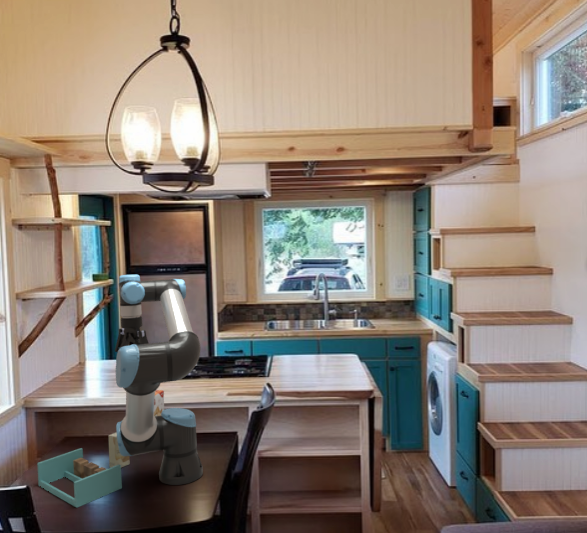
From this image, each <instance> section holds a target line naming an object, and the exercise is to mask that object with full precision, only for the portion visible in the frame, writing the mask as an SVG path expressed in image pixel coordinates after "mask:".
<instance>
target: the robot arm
mask: <svg viewBox="0 0 587 533" xmlns="http://www.w3.org/2000/svg"><path fill="white" fill-rule="evenodd" d="M118 288H119V289H118V291H119V292H118V295H119V303H120V304H119V310H120V312H119V313H120V314H119V315H120V317H121V318H120V327H121V328H118V336H117V341H116V344H115V348H114V352H116V359H115V363H116V364H115V381H116V386H117V387H119V388H122V389H123V390H124V391H125V396H126V397H125V416H124V417H123V419H122V420H121V421H118V422H117V423H116V426H115V428H116V432H117V441H118V447H119V452H120V454H121V455H122V456H129V457H134V456H137V455H144V454H148V453H155V452H159V451H162V452H163V456H162V460H161V465H160V469H159V472H158V475H159V476H158V477H159V481H160V482H161V483H162V484H165V485H169V486H170V485H171V486H179V485H180V486H181V485H185V484H190V483H193V482H195V481H197V480H199V479H201V478H202V476H203V474H204V472H203V471H204V470H203V469H204V467H203V464H202V461H201V459H200V456H199V453H198V448H197V447H198V446H197V444H198V443H197V423H196V422H197V421H196V415H195V413H194V412H193V411H192V410H191V409H187V408H181V407H180V408H179V407H171V408H170V407H169V408H166V409H165V408H164V410H163V411H162V413H161V416H154V415H153V412H154V399H155V391H156V390H159V388H160V386H161V383H169V382H177V381H179V380H181V379H183V378H185V377H186V376H188V375H189V374H190V373H191V372H192V371H193V370H194V368H195V367H196V365H197V363H198V362H199V360H200V356H201V342H200V338H199V336H198V335H197V333H195V332H194V331H193V328H192V324H191V321H190V318H189V315H188V311H187V308H186V305H185V302H184V300H185V299H186V296H187V286H186V282H185V280H184V279H181V278H180V279H179V278H170V279H158V280H157V279H155V280H152V279H151V280H141V277H140V275H139V274H122V275H119V277H118ZM151 302H160V305H161V309H162V313H163V318H164V322H165V325H166V326H165V327H166V330H167V334H168V338H169V339H168V341H162V342H161V341H160V342H152V343H151V342H150V343H149V340H148V337H147V331H146V330H145V329H144V330H141V328H142V326H143V317H142V315H143V314H142V313H143V312H142V303H151ZM131 343H133V344H131ZM116 432H115V433H116Z"/></svg>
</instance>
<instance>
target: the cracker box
mask: <svg viewBox="0 0 587 533" xmlns="http://www.w3.org/2000/svg"><path fill="white" fill-rule="evenodd" d="M164 392H165V390H162V389H157V390H156V391H155V399H154V412H153V415H154V416H161V413H162V411H163V410H165V396H164V395H165V393H164Z"/></svg>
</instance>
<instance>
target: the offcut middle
mask: <svg viewBox="0 0 587 533" xmlns="http://www.w3.org/2000/svg"><path fill="white" fill-rule="evenodd" d="M83 468H84V478H85V477H88V476H91V475H93V474H94V470H96V469H98V468H100V465H99V464H97V463H94V462H92V461H90V462H89V463H88V464H85V465H83Z"/></svg>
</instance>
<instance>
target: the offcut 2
mask: <svg viewBox="0 0 587 533" xmlns="http://www.w3.org/2000/svg"><path fill="white" fill-rule="evenodd" d="M106 469H107V468H105V467H103V466H100V467H99V468H98V469H96V470H94V474H96V473H98V472H101V471H103V470H106Z"/></svg>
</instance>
